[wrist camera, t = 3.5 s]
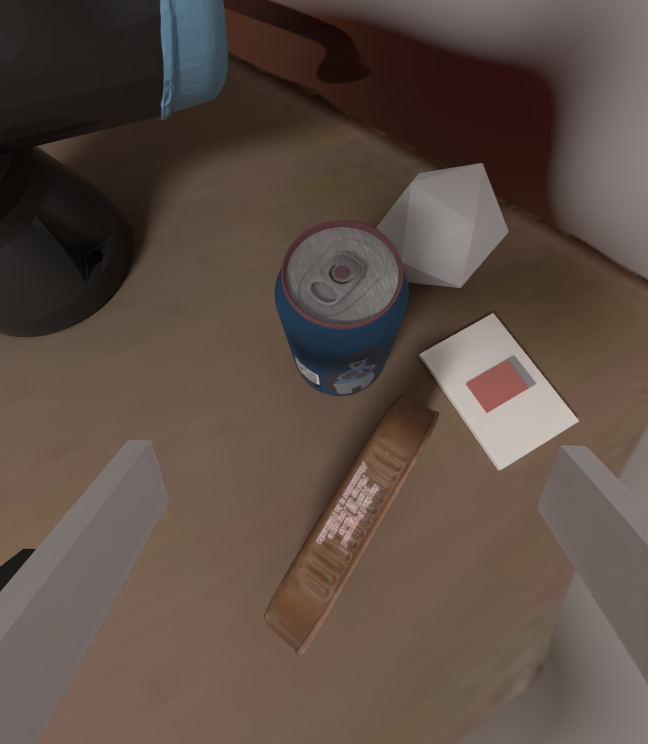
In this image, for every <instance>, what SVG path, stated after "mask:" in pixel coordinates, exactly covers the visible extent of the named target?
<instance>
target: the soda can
mask: <svg viewBox="0 0 648 744" xmlns="http://www.w3.org/2000/svg"><path fill="white" fill-rule="evenodd" d="M408 301H409V285H408V280H407V277H406V274H405V271H404V269H403V263H402V260H401V257H400V254H399V252H398V250H397V249H396V247H395V246H394V244H393V243H392V242H391V241H390V239H389V238H387V237H386V236H385V235H384V234H383V233H381V232H380V231H378V230H377V229H375V228H373V227H371V226H369V225H366V224H363V223H360V222H355V221H344V220H341V221H331V222H325V223H322V224H319V225H316V226H314V227H311V228H310V229H308V230H306V231H305V232H304V233H302V234H301V235H300V236H299V237H298V238H297V239H296V240H295V241H294V242H293V243H292V245H291V246H290V247H289V249H288V251H287V253H286V255H285V257H284V260H283V263H282V268H281V270H280V272H279V274H278V277H277V281H276V285H275V302H276V307H277V311H278V314H279V316H280V319H281V322H282V325H283V328H284V331H285V334H286V337H287V340H288V343H289V346H290V349H291V352H292V355H293V358H294V361H295V364H296V366H297V369H298V371H299V373H300V375H301V376H302V378H303V379H304V380H305V381H306V382H307V383H308V384H309V385H310V386H312V387H313V388H315V389H316V390H318V391H320V392H322V393H325V394H329V395H335V396H345V395H351V394H355V393H357V392H360V391H362V390H364V389H365V388H367V387H368V386H370V385H371V384H372V383H373V382H374V381H375V380H376V379H377V377H378V376H379V374H380V373H381V371H382V369H383V366H384V364H385V361H386V359H387V357H388V354H389V352H390V349H391V347H392V344H393V342H394V340H395V337H396V335H397V332H398V330H399V327H400V325H401V323H402V320H403V318H404V315H405V313H406V310H407V306H408Z"/></svg>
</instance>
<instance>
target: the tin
mask: <svg viewBox="0 0 648 744" xmlns="http://www.w3.org/2000/svg"><path fill="white" fill-rule="evenodd" d="M438 417H439V412H437V411H433V410H431V409H429V408H427V407H426V406H424V405H422V404H420V403H419V402H417V401H415V400H413V399H412V398H410V397H407V396H405V395H401V396H399V397H397V398H396V399H395V401H394V402H393V403H392V405H391V406H390V407H389V409H388V410H387V412H386V413H385V415H384V416H383V418H382V419H381V421H380V422H379V424H378V425H377V427H376V429H375V430H374V432H373V433H372V435H371V436H370V438H369V439H368V441H367V443H366V444H365V446H364V447H363V449H362V450H361V452H360V454H359V455H358V457H357V458H356V460H355V462H354V463H353V465H352V466H351V468H350V470H349V471H348V473H347V474H346V476H345V477H344V479H343V481H342V482H341V484H340V485H339V487H338V489H337V490H336V492H335V493H334V495H333V497H332V498H331V500H330V501H329V503H328V505H327V506H326V508H325V510H324V511H323V513H322V515H321V516H320V518H319V519H318V521H317V523H316V524H315V526H314V528H313V529H312V531H311V533H310V534H309V536H308V538H307V539H306V541H305V543H304V545H303V546H302V548H301V550H300V551H299V553H298V554H297V556H296V558H295V559H294V561H293V563H292V564H291V566H290V568H289V569H288V571H287V573H286V574H285V576H284V578H283V580H282V581H281V583H280V585H279V587H278V588H277V590H276V592H275V594H274V595H273V597H272V599H271V601H270V603H269V605H268V607H267V609H266V612H265V615H264V620H265V623H266V624H267V625H268V626H269V627H270V628H271V629H272V630H273V631H274V632H275V633H276V634H277V635H278V636H279V637H281V638H282V639H283V640H284V641H285V642H286V643H288V644H289V645H290V646H291V647H292V648H293V649H294V650H295V652H296V654H297V655H298V656H301V655H302V654H303V653H304V652H305V651H306V649H307V648H308V647H309V645H310V644H311V642H312V640H313V639H314V637H315V636H316V634H317V633H318V631H319V630H320V628H321V627H322V625H323V623H324V621H325V620H326V619H327V617H328V615H329V613H330V612H331V610H332V608H333V606H334V605H335V603H336V601H337V600H338V598H339V596H340V595H341V593H342V591H343V589H344V587H345V586H346V584H347V582H348V580H349V579H350V577H351V575H352V573H353V572H354V570H355V568H356V566H357V565H358V563H359V561H360V560H361V558H362V556H363V554H364V552H365V551H366V549H367V547H368V545H369V543H370V542H371V540H372V538H373V536H374V535H375V533H376V531H377V529H378V528H379V526H380V524H381V523H382V521H383V519H384V517H385V516H386V514H387V512H388V510H389V508H390V507H391V505H392V503H393V502H394V500H395V498H396V496H397V495H398V493H399V491H400V489H401V487H402V486H403V484H404V482H405V481H406V479H407V477H408V475H409V474H410V472H411V470H412V469H413V467H414V465H415V463H416V462H417V460H418V458H419V456H420V454H421V453H422V451H423V449H424V447H425V445H426V443H427V441H428V439H429V437H430V435H431V433H432V431H433V429H434V427H435V424H436V423H437V420H438Z"/></svg>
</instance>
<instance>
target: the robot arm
mask: <svg viewBox="0 0 648 744" xmlns="http://www.w3.org/2000/svg"><path fill="white" fill-rule="evenodd" d="M227 71H228V44H227V32H226V21H225V12H224V4H223V0H0V333H1V334H5V335H9V336H16V337H35V336H42V335H48V334H52V333H55V332H58V331H61V330H64V329H66V328H69V327H71V326H73V325H75V324H77V323H79V322H81V321H82V320H84V319H86V318H87V317H89V316H90V315H91V314H93V313H94V312H95V311H97V310H98V309H99V308H100V307H101V306H102V305H103V304H104V303H105V302H106V301H107V300H108V299H109V298H110V297H111V296H112V295H113V293H114V292H115V291H116V289H117V288H118V287H119V285H120V283H121V282H122V280H123V278H124V276H125V274H126V272H127V269H128V266H129V263H130V259H131V253H132V238H131V233H130V229H129V226H128V224H127V222H126V220H125V218H124V217H123V215H122V214H121V213H120V212H119V210H118V209H117V208H116V207H115V205H114V204H113V203H112V202H111V200H110V199H109V198H108V197H107V196H106V195H105V194H104V193H103V192H102V191H101V190H100V189H99V188H98V187H96V186H95V185H94V184H92V183H91V182H89V181H88V180H86V179H85V178H83V177H82V176H80V175H79V174H77V173H76V172H74V171H73V170H71V169H70V168H68V167H67V166H65V165H64V164H62V163H61V162H59V161H58V160H56V159H55V158H53V157H52V156H50V155H49V154H47V153H46V152H44V151H43V150H41V149H40V148H38V147H37V146H38V145H42V144H46V143H50V142H55V141H59V140H63V139H67V138H71V137H75V136H79V135H84V134H88V133H92V132H96V131H100V130H104V129H108V128H113V127H117V126H121V125H125V124H129V123H133V122H137V121H142V120H146V119H150V118H154V117H157V118H158V119H159V120H165V119H167V118H168V117H169V116H170V115H171V113H173V112H177V111H180V110H183V109H187V108H190V107H193V106H196V105H200V104H203V103H206V102H209V101H211V100H212V99H214V98H215V97H216V96H217V95H218V94H219V92H220V91H221V89H222V87H223V85H224V83H225V79H226V76H227ZM168 502H169V498H168V494H167V491H166V488H165V485H164V481H163V478H162V475H161V472H160V468H159V465H158V462H157V459H156V455H155V452H154V449H153V445H152V442H151V440H128V441H127V442H126V443H125V444H124V445H123V447H122V448H121V449H120V450H119V451H118V453H117V454H116V455H115V456H114V457H113V458H112V460H111V461H110V462H109V463H108V464H107V466H106V467H105V468H104V469H103V470H102V472H101V473H100V474H99V475H98V476H97V478H96V479H95V480H94V481H93V482H92V483H91V485H90V486H89V487H88V488H87V489H86V491H85V492H84V493H83V494H82V495H81V497H80V498H79V499H78V500H77V501H76V502H75V504H74V505H73V506H72V507H71V508H70V510H69V511H68V512H67V513H66V514H65V516H64V517H63V518H62V519H61V520H60V522H59V523H58V524H57V525H56V526H55V527H54V529H53V530H52V531H51V532H50V533H49V535H48V536H47V537H46V538H45V539H44V541H43V542H42V543H41V544H40V545H39V546H38V548H37V549H23V550H21V551H20V552H19V553H18V554H16V555H15V556H14V557H12V558H11V559H10V560H8V561H7V562H6V563H4V564H3V565H2V566H0V744H37V743H38V741H39V739H40V737H41V735H42V734H43V732H44V730H45V728H46V726H47V724H48V723H49V721H50V719H51V717H52V715H53V713H54V711H55V710H56V708H57V706H58V704H59V702H60V700H61V699H62V697H63V695H64V693H65V691H66V689H67V688H68V686H69V684H70V682H71V680H72V678H73V677H74V675H75V673H76V671H77V669H78V667H79V666H80V664H81V662H82V660H83V658H84V656H85V654H86V653H87V651H88V649H89V647H90V645H91V643H92V642H93V640H94V638H95V636H96V634H97V632H98V631H99V629H100V627H101V625H102V623H103V621H104V620H105V618H106V616H107V614H108V612H109V610H110V609H111V607H112V605H113V603H114V601H115V599H116V597H117V596H118V594H119V592H120V590H121V588H122V586H123V585H124V583H125V581H126V579H127V577H128V575H129V574H130V572H131V570H132V568H133V566H134V564H135V563H136V561H137V559H138V557H139V555H140V553H141V552H142V550H143V548H144V546H145V544H146V542H147V540H148V539H149V537H150V535H151V533H152V531H153V529H154V528H155V526H156V524H157V522H158V520H159V518H160V517H161V515H162V513H163V511H164V509H165V507H166V506H167V504H168ZM537 508H538V510H539V512H540V513H541V515H542V516H543V518H544V520H545V521H546V523H547V524H548V526H549V528H550V529H551V531H552V532H553V534H554V536H555V537H556V539H557V540H558V542H559V543H560V545H561V547H562V548H563V550H564V551H565V553H566V555H567V556H568V558H569V559H570V561H571V563H572V564H573V566H574V567H575V569H576V571H577V572H578V574H579V575H580V577H581V578H582V580H583V582H584V583H585V584H586V586H587V588H588V589H589V591H590V593H591V594H592V596H593V598H594V599H595V601H596V602H597V604H598V605H599V607H600V608H601V610H602V612H603V613H604V615H605V617H606V618H607V620H608V621H609V623H610V625H611V626H612V628H613V629H614V631H615V632H616V634H617V636H618V637H619V639H620V640H621V642H622V644H623V645H624V647H625V648H626V650H627V652H628V653H629V655H630V656H631V658H632V660H633V661H634V663H635V664H636V666H637V668H638V669H639V671H640V672H641V674H642V675H643V677H644V678H645V680H646V682H647V683H648V509H647V508H646V507H645V506H644V505H643V504H642V503H641V502H640V501H639V500H638V499H637V498H636V497H635V496H634V495H633V494H632V493H631V492H630V491H629V490H628V489H627V488H626V487H625V486H624V485H623V484H622V483H621V482H620V481H619V480H618V478H617V477H616V476H615V475H614V474H613V473H612V472H611V471H610V470H609V469H608V468H607V467H606V466H605V465H604V464H603V463H602V462H601V461H600V460H599V459H598V458H597V457H596V456H595V455H594V454H593V453H592V452H591V451H590V450H589V449H588V448H587V447H586V446H561V447H560V450H559V452H558V455H557V457H556V460H555V462H554V465H553V468H552V470H551V473H550V475H549V478H548V480H547V483H546V486H545V488H544V491H543V493H542V496H541V498H540V501H539V504H538V506H537Z"/></svg>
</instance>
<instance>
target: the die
mask: <svg viewBox="0 0 648 744" xmlns="http://www.w3.org/2000/svg"><path fill="white" fill-rule="evenodd" d="M376 228H377V230H378V231H380V232H381V233H383V234H384V235H385V236H386V237H387V238H389V239H390V241H391V242H392V243H393V244H394V246H395V247H396V249H397V250H398V252H399V254H400V257H401V260H402V263H403V269H404V271H405V274H406V277H407V280H408V282H409V283H419V284H428V285H437V286H446V287H455V288H461V287H462V286H463V284H464V283H465V282H466V281H467V280H468V279H469V277H470V276H471V275H472V274H473V273H474V272H475V270H476V269H477V268H478V267H479V266H480V265H481V263H482V262H483V261H484V260H485V259H486V258H487V256H488V255H489V254H490V253H491V252H492V251H493V250H494V248H495V247H496V246H497V245H498V244H499V243H500V241H501V240H502V239H503V238H504V237H505V236H506V234H507V233H508V232H509V231H508V229H507V226H506V223H505V221H504V218H503V216H502V213H501V210H500V208H499V205H498V202H497V200H496V197H495V195H494V192H493V190H492V187H491V184H490V182H489V179H488V176H487V174H486V171H485V168H484V166H483V163H479V164H473V165H467V166H461V167H455V168H448V169H442V170H436V171H429V172H423V173H419V174H418V175H417V176H416V177H415V179H414V180H413V181H412V182H411V183H410V185H409V186H408V187H407V189H406V190H405V191H404V192H403V194H402V195H401V196H400V198H399V199H398V200H397V201H396V203H395V204H394V205H393V207H392V208H391V209H390V210H389V212H388V213H387V214H386V216H385V217H384V218H383V220H382V221H381V222H380V223H379V225H378V226H377V227H376Z"/></svg>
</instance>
